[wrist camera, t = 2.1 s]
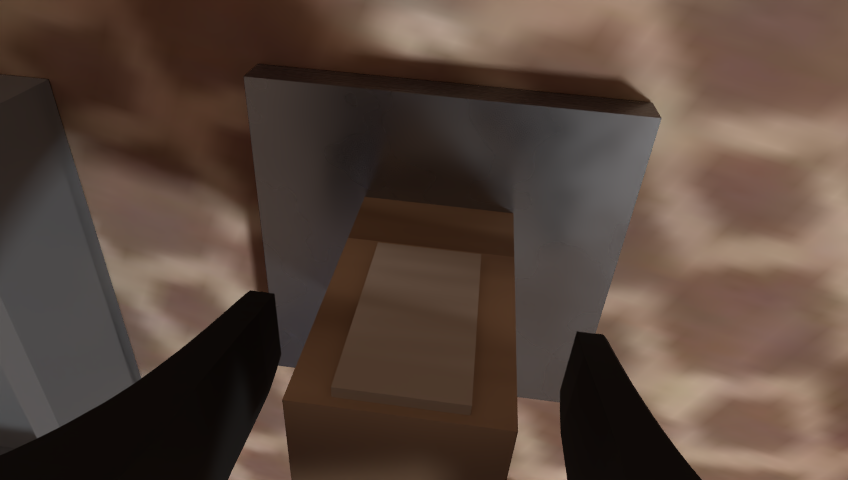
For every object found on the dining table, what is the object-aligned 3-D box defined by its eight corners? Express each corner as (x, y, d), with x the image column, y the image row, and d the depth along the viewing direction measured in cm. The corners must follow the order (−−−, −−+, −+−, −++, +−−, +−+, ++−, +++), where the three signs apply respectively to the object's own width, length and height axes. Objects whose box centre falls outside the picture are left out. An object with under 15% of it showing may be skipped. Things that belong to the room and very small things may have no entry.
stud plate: (571, 381, 20) (579, 450, 18) (286, 344, 21) (258, 407, 18) (652, 102, 14) (680, 151, 12) (258, 64, 15) (212, 103, 13)
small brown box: (494, 325, 18) (488, 556, 12) (364, 309, 18) (297, 527, 12) (515, 205, 15) (520, 422, 10) (364, 189, 16) (281, 389, 10)
